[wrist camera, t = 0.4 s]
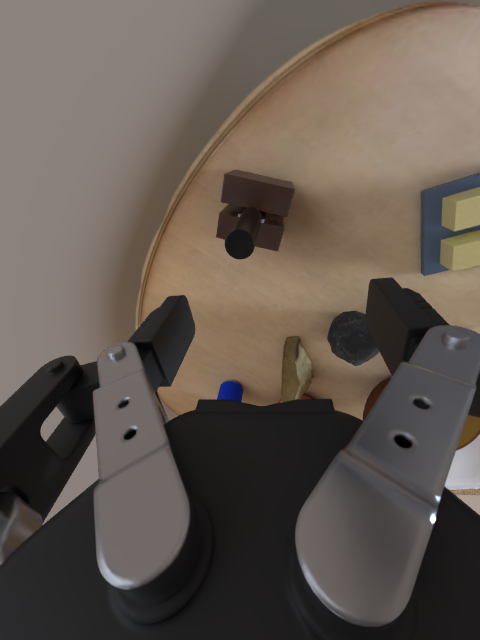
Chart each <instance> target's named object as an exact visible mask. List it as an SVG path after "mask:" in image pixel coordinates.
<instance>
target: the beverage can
mask: <svg viewBox="0 0 480 640" xmlns="http://www.w3.org/2000/svg"><path fill="white" fill-rule="evenodd" d="M242 394H243V388H242V386H241V385H240V384H239V383H238V382H236V381H233V380H228V381H225V382H224V383H222V384H221V386H220V390H219V394H218V398H217V400H233V401H238V402H241V400H242Z"/></svg>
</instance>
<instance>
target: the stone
mask: <svg viewBox="0 0 480 640" xmlns="http://www.w3.org/2000/svg"><path fill="white" fill-rule="evenodd" d="M328 342H329V343H330V346H331V350H332V352H333V353H334V354H335V355H336V356H337V357H339V358H341V359H343V360H345V361H347V362H348V363H351V364H353V365H354V366H358V365H360V364H362V363H364V362H366V361H368V360H370V359H371V358H373V357H374V356H376V355H377V354H378V353H379V352H380V351H379V349H378V347H377V345H376V343H375V341H374V339H373V337H372V335H371V333H370V331H369V329H368V326H367V322H366V314H364V313H360V312H357V311H350V312H343V313H342V314H340V315H339V316H337V317H336V318H335V319H334V320H333V322H332V324H331V326H330V329H329V333H328Z"/></svg>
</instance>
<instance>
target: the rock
mask: <svg viewBox="0 0 480 640" xmlns="http://www.w3.org/2000/svg"><path fill="white" fill-rule="evenodd" d="M312 378H313V375H312V363H311V361H310V358H309V357H308V355H307V354H306V353H305V350H304V349H303V348H302V347H301V345H300V339H299V338H298V337H289V338H286V341H285V345H284V352H283V366H282V390H281V391H282V395H281V399H282V402H286V401H291V400H296V399H301V397H302V395H303V394H304V392H305V391H306V390H307V389H308V387H309V385H310V384H311V379H312Z"/></svg>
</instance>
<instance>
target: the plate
mask: <svg viewBox="0 0 480 640" xmlns="http://www.w3.org/2000/svg"><path fill="white" fill-rule="evenodd" d="M445 487H446V488H447V489H448V490H458V489H480V434H479V435H478V437H477V438H476V439H475V440H474V441H472V442H471V443H470V444H468V445H467V446H465V447H464V448H462V449H459V450H457V451H456V452H455V455H454V458H453V461H452V464H451V467H450V470H449V473H448V477H447V480H446V483H445Z"/></svg>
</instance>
